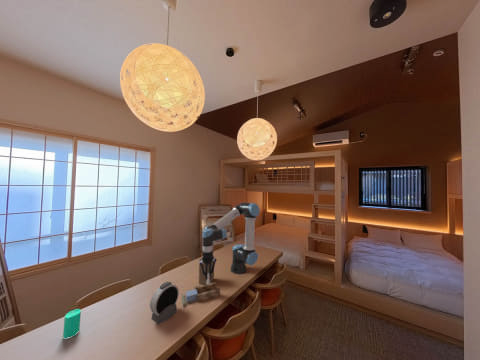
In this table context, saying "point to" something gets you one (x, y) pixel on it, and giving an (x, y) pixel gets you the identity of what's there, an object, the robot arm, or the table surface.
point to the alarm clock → (164, 302)
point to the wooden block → (202, 277)
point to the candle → (71, 323)
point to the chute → (203, 293)
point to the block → (191, 295)
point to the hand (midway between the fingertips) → (208, 283)
